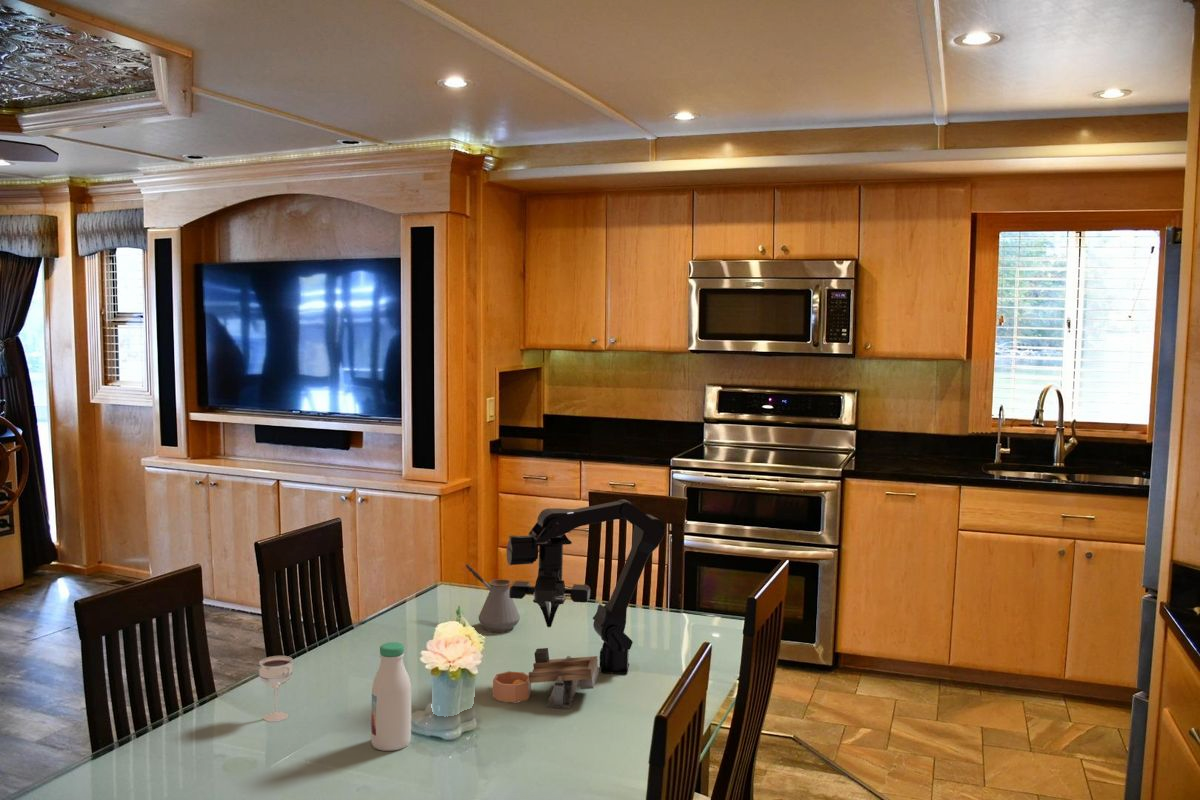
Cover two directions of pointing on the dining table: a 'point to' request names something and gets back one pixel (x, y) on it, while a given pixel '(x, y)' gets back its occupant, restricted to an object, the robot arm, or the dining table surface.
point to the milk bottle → (391, 701)
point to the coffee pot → (497, 605)
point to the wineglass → (275, 679)
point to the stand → (563, 694)
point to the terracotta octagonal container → (511, 687)
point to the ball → (517, 682)
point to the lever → (564, 669)
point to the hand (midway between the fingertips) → (549, 626)
